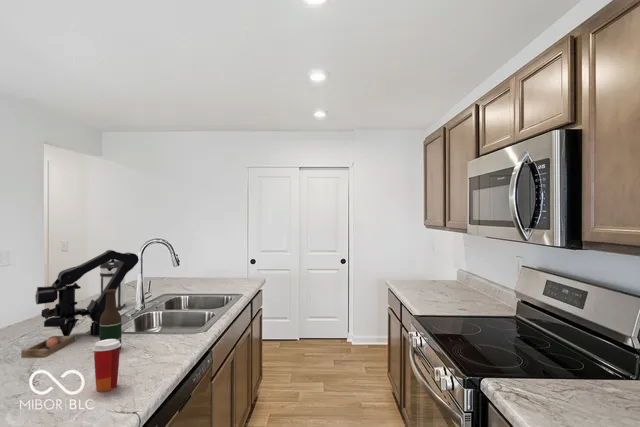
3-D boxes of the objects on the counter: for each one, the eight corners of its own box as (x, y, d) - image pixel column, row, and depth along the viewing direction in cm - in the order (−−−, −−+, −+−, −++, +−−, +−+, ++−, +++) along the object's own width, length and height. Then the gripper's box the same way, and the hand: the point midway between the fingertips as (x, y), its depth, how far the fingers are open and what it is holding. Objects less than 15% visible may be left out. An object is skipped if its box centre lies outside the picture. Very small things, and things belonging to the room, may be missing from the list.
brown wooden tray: (75, 343, 154) (75, 335, 154) (45, 359, 137) (45, 350, 137) (54, 343, 154) (54, 335, 154) (21, 360, 137) (21, 350, 137)
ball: (60, 345, 149) (60, 335, 149) (53, 349, 145) (53, 339, 145) (50, 345, 149) (50, 335, 149) (43, 349, 145) (43, 339, 145)
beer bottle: (96, 355, 142) (96, 292, 142) (102, 348, 150) (102, 288, 150) (118, 353, 144) (119, 291, 144) (123, 346, 152) (124, 287, 152)
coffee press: (134, 307, 215) (134, 255, 215) (106, 313, 202) (106, 258, 202) (117, 303, 224) (117, 253, 225) (89, 309, 211) (90, 256, 211)
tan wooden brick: (68, 343, 152) (68, 335, 152) (64, 345, 149) (64, 337, 149) (52, 343, 152) (52, 335, 152) (48, 345, 149) (48, 337, 149)
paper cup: (114, 379, 121) (115, 336, 121) (125, 386, 116) (125, 341, 116) (87, 388, 115) (88, 342, 115) (97, 396, 110) (97, 348, 110)
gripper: (62, 295, 165) (62, 331, 165) (30, 305, 146) (29, 345, 146) (87, 295, 165) (87, 331, 165) (58, 305, 146) (58, 345, 146)
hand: (66, 337), depth 155 cm, fingers closed
